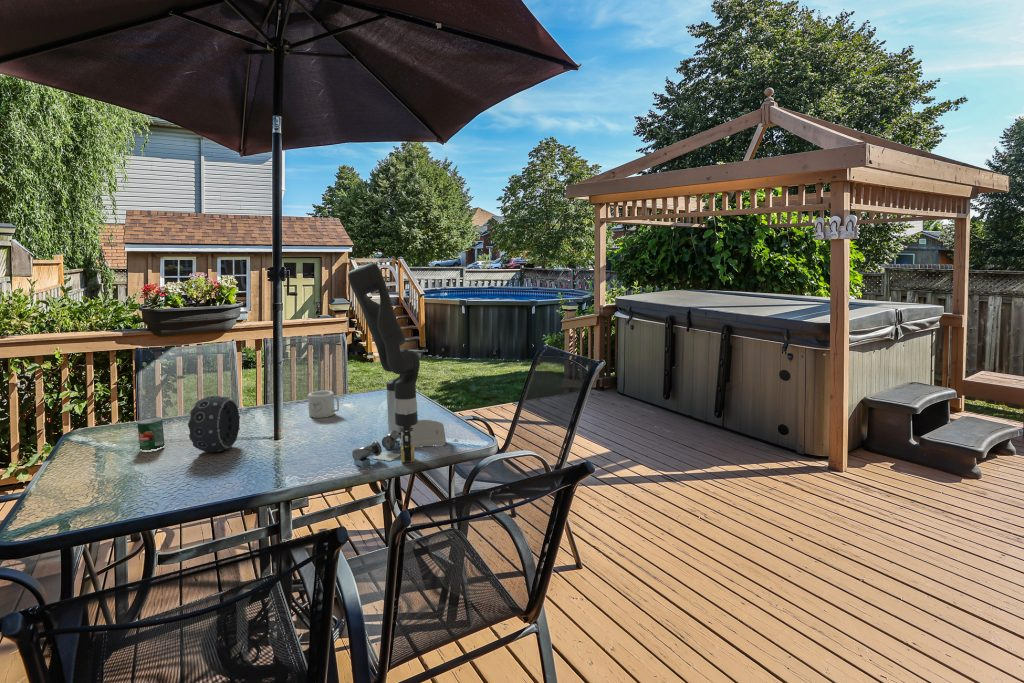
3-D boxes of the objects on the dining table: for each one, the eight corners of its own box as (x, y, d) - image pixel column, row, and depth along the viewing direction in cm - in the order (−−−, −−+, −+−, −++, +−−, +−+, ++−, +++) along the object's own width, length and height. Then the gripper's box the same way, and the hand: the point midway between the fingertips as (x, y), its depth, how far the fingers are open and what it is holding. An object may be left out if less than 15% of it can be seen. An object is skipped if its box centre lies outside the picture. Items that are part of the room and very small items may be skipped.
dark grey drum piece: (244, 441, 225) (239, 390, 222) (219, 459, 205) (214, 403, 202) (215, 442, 224) (210, 390, 221) (188, 460, 204) (182, 404, 202)
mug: (304, 418, 256) (303, 395, 255) (316, 411, 267) (315, 389, 265) (333, 419, 254) (332, 396, 252) (344, 412, 264) (343, 390, 263)
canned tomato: (136, 453, 212) (132, 423, 211) (145, 446, 220) (142, 417, 218) (159, 452, 214) (156, 422, 212) (168, 445, 221) (165, 416, 220)
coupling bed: (382, 452, 210) (382, 451, 210) (401, 455, 207) (401, 454, 207) (371, 458, 204) (371, 457, 204) (390, 461, 201) (390, 460, 201)
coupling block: (401, 457, 204) (401, 445, 203) (414, 457, 204) (414, 444, 204) (401, 462, 199) (400, 449, 199) (414, 461, 200) (414, 448, 199)
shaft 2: (387, 445, 218) (387, 428, 217) (400, 445, 218) (400, 428, 217) (382, 453, 209) (381, 436, 208) (395, 453, 209) (394, 436, 208)
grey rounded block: (400, 448, 215) (399, 420, 217) (401, 448, 220) (400, 421, 222) (446, 446, 217) (445, 418, 219) (446, 446, 222) (445, 419, 223)
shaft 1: (360, 468, 195) (359, 449, 194) (351, 465, 198) (350, 446, 197) (382, 461, 202) (381, 443, 201) (373, 458, 205) (372, 440, 204)
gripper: (395, 405, 205) (397, 452, 208) (393, 416, 192) (396, 467, 194) (417, 404, 207) (419, 451, 209) (417, 415, 193) (419, 465, 195)
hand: (408, 458), depth 202 cm, fingers closed on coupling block, 4 cm apart
